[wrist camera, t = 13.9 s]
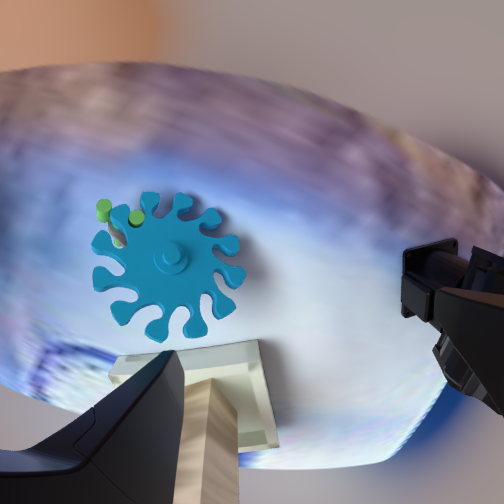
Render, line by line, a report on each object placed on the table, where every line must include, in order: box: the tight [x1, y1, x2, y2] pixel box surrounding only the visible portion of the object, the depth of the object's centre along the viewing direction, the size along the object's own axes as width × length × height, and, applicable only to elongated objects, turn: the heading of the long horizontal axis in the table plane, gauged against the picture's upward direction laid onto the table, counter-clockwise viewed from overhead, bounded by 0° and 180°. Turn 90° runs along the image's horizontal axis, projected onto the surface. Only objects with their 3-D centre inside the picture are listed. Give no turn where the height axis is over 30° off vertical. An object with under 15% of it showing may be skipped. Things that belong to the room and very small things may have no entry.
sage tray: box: [108, 339, 279, 453], centre depth 23 cm, size 13×12×3 cm
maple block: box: [173, 378, 239, 504], centre depth 17 cm, size 5×5×13 cm
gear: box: [91, 192, 246, 343], centre depth 19 cm, size 11×6×10 cm
